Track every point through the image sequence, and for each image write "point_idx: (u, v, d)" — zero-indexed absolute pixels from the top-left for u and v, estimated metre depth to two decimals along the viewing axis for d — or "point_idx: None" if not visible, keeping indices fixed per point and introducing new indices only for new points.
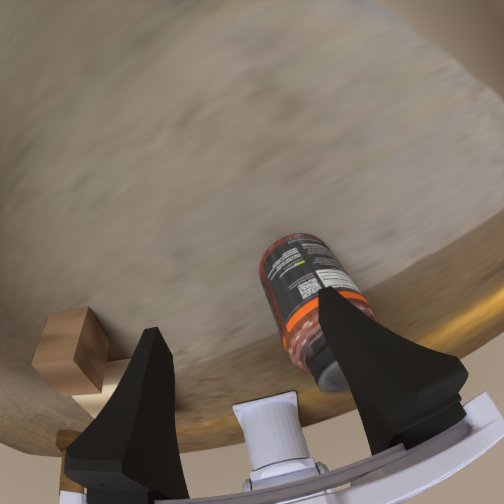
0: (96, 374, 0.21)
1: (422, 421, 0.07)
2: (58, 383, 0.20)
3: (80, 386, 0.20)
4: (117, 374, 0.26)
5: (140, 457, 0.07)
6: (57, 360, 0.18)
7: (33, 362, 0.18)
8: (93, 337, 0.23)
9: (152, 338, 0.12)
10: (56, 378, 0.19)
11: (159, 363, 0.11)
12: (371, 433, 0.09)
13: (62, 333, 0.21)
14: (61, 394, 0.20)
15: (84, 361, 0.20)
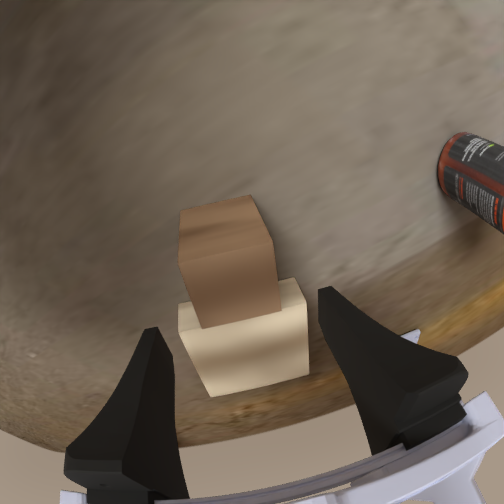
0: None
1: (422, 421, 0.07)
2: (214, 300, 0.16)
3: (253, 300, 0.16)
4: None
5: (140, 457, 0.07)
6: (238, 247, 0.14)
7: (182, 259, 0.14)
8: None
9: (152, 338, 0.12)
10: (217, 288, 0.15)
11: (159, 363, 0.11)
12: (371, 433, 0.09)
13: (225, 221, 0.17)
14: (206, 324, 0.16)
15: None
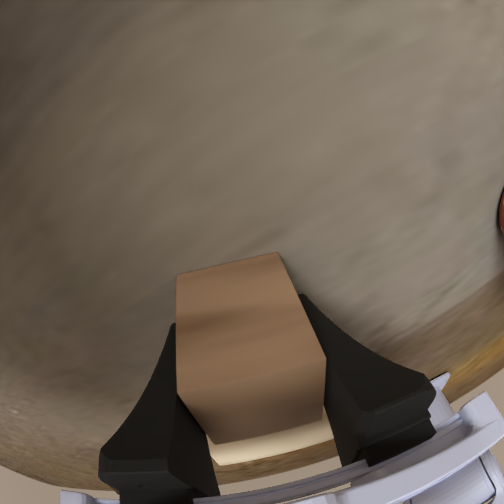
0: None
1: (385, 438, 0.07)
2: (232, 422, 0.10)
3: (287, 417, 0.10)
4: None
5: (181, 454, 0.07)
6: (271, 369, 0.09)
7: (184, 386, 0.08)
8: None
9: None
10: (237, 412, 0.09)
11: None
12: (339, 445, 0.09)
13: (245, 306, 0.11)
14: (220, 441, 0.11)
15: None
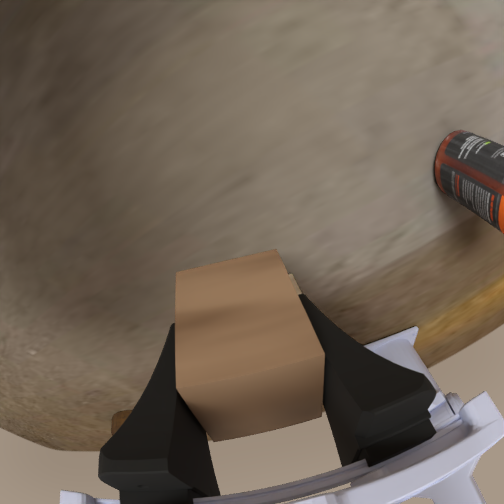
0: None
1: (385, 438, 0.07)
2: (231, 418, 0.10)
3: (286, 414, 0.10)
4: None
5: (181, 454, 0.07)
6: (270, 365, 0.09)
7: (183, 382, 0.08)
8: None
9: None
10: (236, 408, 0.09)
11: None
12: (339, 445, 0.09)
13: (244, 303, 0.11)
14: (219, 438, 0.11)
15: None
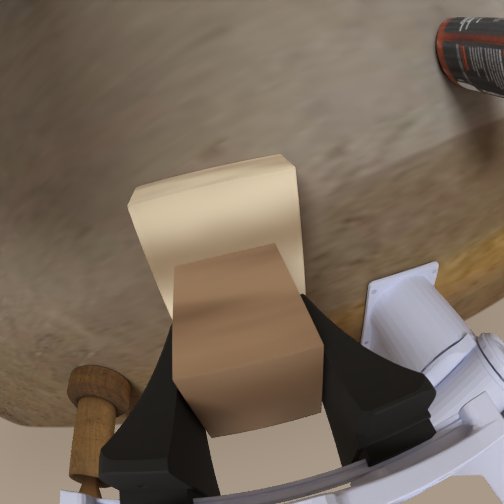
0: None
1: (385, 438, 0.07)
2: (229, 413, 0.10)
3: (285, 408, 0.10)
4: (244, 170, 0.17)
5: (181, 454, 0.07)
6: (269, 356, 0.09)
7: (179, 373, 0.08)
8: None
9: None
10: (234, 402, 0.09)
11: None
12: (339, 445, 0.09)
13: (242, 295, 0.11)
14: (217, 434, 0.11)
15: None
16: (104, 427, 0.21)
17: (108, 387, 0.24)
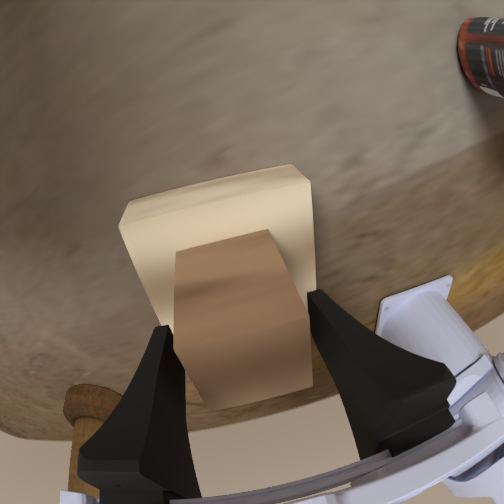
0: None
1: (408, 428, 0.07)
2: (226, 384, 0.11)
3: (278, 380, 0.11)
4: (251, 184, 0.15)
5: (156, 456, 0.07)
6: (259, 326, 0.10)
7: (180, 343, 0.10)
8: None
9: (164, 336, 0.12)
10: (230, 372, 0.11)
11: (171, 361, 0.11)
12: (359, 438, 0.09)
13: (237, 275, 0.12)
14: (216, 407, 0.12)
15: None
16: None
17: (106, 408, 0.22)
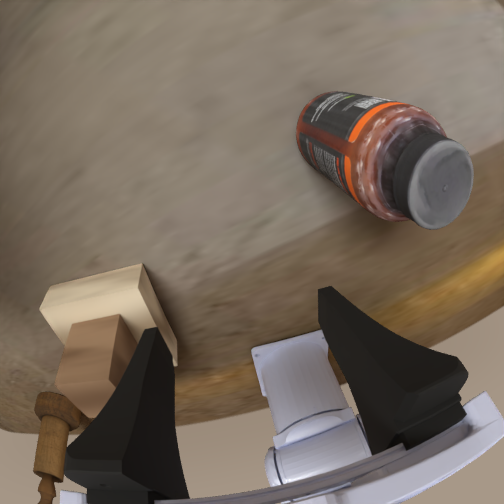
0: None
1: (421, 421, 0.07)
2: (87, 404, 0.17)
3: None
4: (108, 284, 0.21)
5: (140, 457, 0.07)
6: (87, 380, 0.16)
7: (57, 382, 0.16)
8: (126, 349, 0.20)
9: (152, 338, 0.12)
10: (85, 399, 0.17)
11: (159, 363, 0.11)
12: (371, 433, 0.09)
13: (91, 346, 0.18)
14: (90, 416, 0.18)
15: (120, 379, 0.18)
16: (58, 438, 0.26)
17: (61, 409, 0.28)
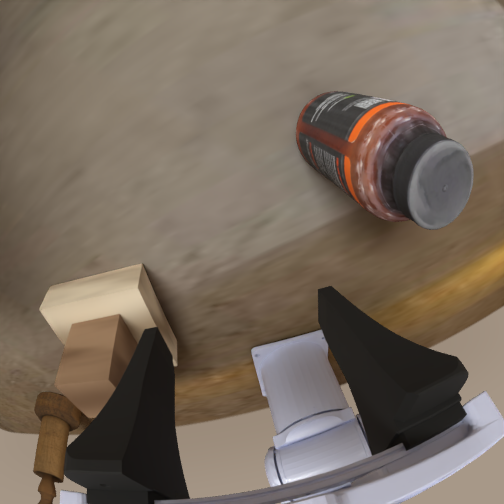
0: None
1: (421, 421, 0.07)
2: (87, 404, 0.17)
3: None
4: (108, 284, 0.21)
5: (140, 457, 0.07)
6: (87, 380, 0.16)
7: (57, 382, 0.16)
8: (126, 350, 0.20)
9: (152, 338, 0.12)
10: (85, 399, 0.17)
11: (159, 363, 0.11)
12: (371, 433, 0.09)
13: (91, 347, 0.18)
14: (90, 416, 0.18)
15: (120, 379, 0.18)
16: (58, 438, 0.26)
17: (61, 409, 0.28)
